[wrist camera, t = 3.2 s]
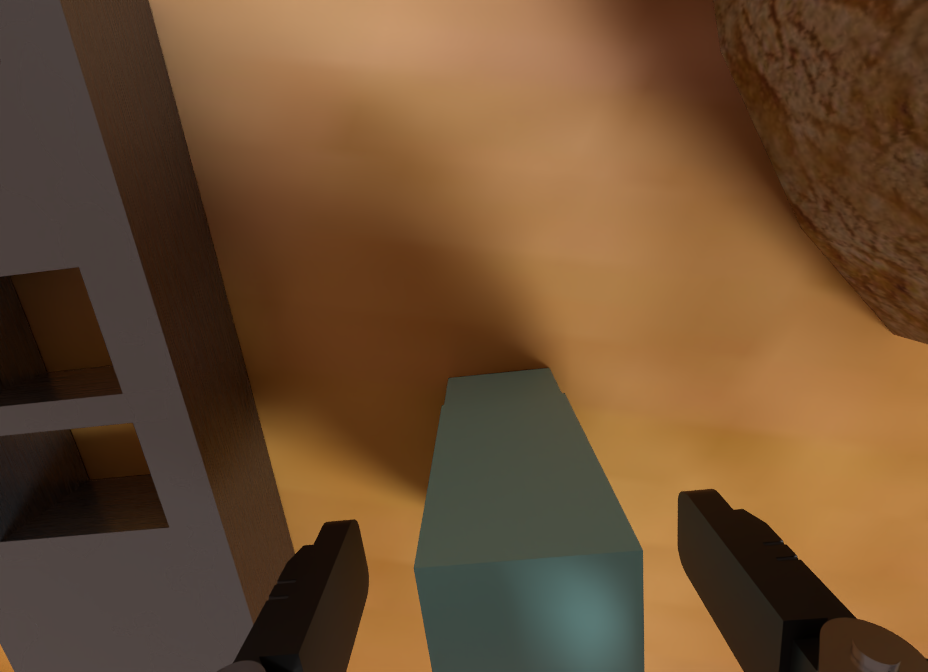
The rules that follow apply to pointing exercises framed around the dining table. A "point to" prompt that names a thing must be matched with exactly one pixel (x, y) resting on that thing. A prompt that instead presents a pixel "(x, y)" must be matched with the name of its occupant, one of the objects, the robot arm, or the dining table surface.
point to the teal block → (524, 538)
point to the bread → (845, 133)
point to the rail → (120, 367)
